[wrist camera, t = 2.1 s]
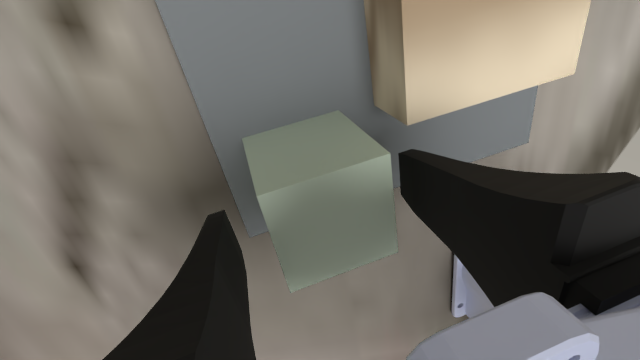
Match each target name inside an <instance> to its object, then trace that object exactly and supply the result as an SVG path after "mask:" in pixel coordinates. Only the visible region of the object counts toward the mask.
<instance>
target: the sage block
mask: <svg viewBox="0 0 640 360" xmlns="http://www.w3.org/2000/svg"><path fill="white" fill-rule="evenodd" d="M242 141H243V145H244V149H245V153H246V157H247V161H248V165H249V169H250V173H251V177H252V181H253V184H254V188H255V192H256V196H257V199H258V202H259V205H260V208H261V211H262V213H263V216H264V219H265V222H266V225H267V228H268V230H269V233H270V236H271V239H272V242H273V245H274V248H275V250H276V253H277V256H278V259H279V262H280V265H281V267H282V270H283V273H284V276H285V279H286V282H287V284H288V287H289V290H290V293H292V292H294V291H297V290H300V289H302V288H305V287H308V286H310V285H313V284H315V283H318V282H321V281H323V280H326V279H329V278H331V277H334V276H337V275H339V274H342V273H345V272H347V271H350V270H353V269H355V268H358V267H361V266H363V265H366V264H369V263H371V262H374V261H377V260H379V259H382V258H384V257H387V256H390V255H392V254H395V253H398V243H397V230H396V218H395V205H394V193H393V180H392V167H391V155H390V153H389V152H388V151H387V150H386V149H385V148H383V147H382V146H381V145H380V144H379V143H377V142H376V141H375V140H374V139H373V138H371V137H370V136H369V135H368V134H367V133H365V132H364V131H363V130H362V129H361V128H359V127H358V126H357V125H356V124H355V123H353V122H352V121H351V120H350V119H349V118H347V117H346V116H345V115H344V114H343V113H341V112H340V111H339V110H337V111H334V112H331V113H327V114H324V115H320V116H317V117H313V118H310V119H306V120H303V121H300V122H296V123H293V124H289V125H286V126H282V127H279V128H275V129H272V130H269V131H265V132H262V133H258V134H255V135H251V136H248V137H245V138H242Z"/></svg>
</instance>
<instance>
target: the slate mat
mask: <svg viewBox="0 0 640 360" xmlns="http://www.w3.org/2000/svg"><path fill="white" fill-rule="evenodd" d="M155 2H156V4H157V7H158V9H159V12H160V14H161V17H162V19H163V22H164V24H165V27H166V29H167V32H168V34H169V37H170V39H171V42H172V44H173V47H174V49H175V52H176V54H177V57H178V59H179V62H180V64H181V67H182V69H183V72H184V74H185V77H186V79H187V82H188V85H189V87H190V90H191V92H192V95H193V97H194V100H195V102H196V105H197V107H198V110H199V112H200V115H201V117H202V120H203V122H204V125H205V127H206V130H207V132H208V135H209V137H210V140H211V142H212V145H213V147H214V150H215V152H216V155H217V157H218V160H219V162H220V165H221V167H222V170H223V172H224V175H225V177H226V180H227V182H228V185H229V187H230V190H231V192H232V195H233V197H234V200H235V203H236V205H237V208H238V210H239V213H240V215H241V218H242V220H243V223H244V225H245V228H246V230H247V233H248V235H249V238H250V237H253V236H256V235H259V234H262V233H265V232H268V231H269V230H268V228H267V225H266V222H265V219H264V216H263V213H262V211H261V208H260V205H259V202H258V199H257V196H256V192H255V188H254V184H253V181H252V177H251V173H250V169H249V165H248V161H247V157H246V153H245V149H244V145H243V141H242V138H245V137H248V136H251V135H255V134H258V133H262V132H265V131H269V130H272V129H275V128H279V127H282V126H286V125H289V124H293V123H296V122H300V121H303V120H306V119H310V118H313V117H317V116H320V115H324V114H327V113H331V112H334V111H337V110H339V111H340V112H341V113H343V114H344V115H345V116H346V117H347V118H349V119H350V120H351V121H352V122H353V123H355V124H356V125H357V126H358V127H359V128H361V129H362V130H363V131H364V132H365V133H367V134H368V135H369V136H370V137H371V138H373V139H374V140H375V141H376V142H377V143H379V144H380V145H381V146H382V147H383V148H385V149H386V150H387V151H388V152H389V153H390V155H391V167H392V180H393V189H394V188H397V187H400V172H399V156H398V153H401V152H404V151H407V150H410V149H416V150H421V151H425V152H429V153H433V154H436V155H440V156H444V157H448V158H451V159H455V160H459V161H463V162H468V163H470V162H473V161H476V160H479V159H482V158H485V157H487V156H490V155H493V154H496V153H499V152H502V151H505V150H508V149H511V148H514V147H517V146H520V145H523V144H526V143H528V142H529V136H530V130H531V124H532V118H533V112H534V106H535V100H536V94H537V89H538V85H537V86H534V87H531V88H527V89H524V90H521V91H518V92H514V93H511V94H508V95H505V96H501V97H498V98H495V99H492V100H489V101H485V102H482V103H479V104H476V105H472V106H469V107H466V108H463V109H460V110H456V111H453V112H450V113H447V114H443V115H440V116H437V117H434V118H431V119H427V120H424V121H421V122H418V123H414V124H411V125H408V126H407V125H405V124H404V123H402V122H400V121H399V120H397V119H396V118H394V117H392V116H391V115H389V114H388V113H386V112H384V111H383V110H381V109H380V108H378V107H376V106H375V105H374V98H373V88H372V78H371V68H370V58H369V49H368V39H367V29H366V19H365V9H364V0H155Z"/></svg>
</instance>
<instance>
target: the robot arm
mask: <svg viewBox="0 0 640 360" xmlns="http://www.w3.org/2000/svg"><path fill="white" fill-rule="evenodd" d="M398 156H399V172H400V188H401V195H402V196H403V198H404V199H405V201H406V202H407V204H408V205H409V206H410V208H411V209H412V210H413V212H414V213H415V214H416V215H417V216H418V217H419V218H420V219H421V220H422V221H423V222H424V223H425V224H426V225H427V226H428V227H429V228H430V229H431V230H432V231H433V232H434V233H435V234H436V235H437V236H438V237H439V238H440V239H441V240H442V241H443V242H444V243H445V244H446V245H447V246H448V248H449V249H450V250H451V251H452V252H453V253H454V271H453V293H452V314H453V316H454V317H456V318H458V317H461V316H463V315H467V316H468V317H469V319H466V320H464V321H462V322H459V323H457V324H455V325H453V326H450V327H448V328H446V329H443V330H441V331H439V332H437V333H435V334H434V335H432V336H430V337H429V338H427V339H425V340H424V341H422V342H420V343H419V344H418V345H417V346H416V348H415V349H414V350H413V351H412V352H411V353H410V354H409V355H408V356H407V358H406V360H640V177H638V176H636V175H633V174H630V173H627V172H617V173H596V174H549V173H534V172H522V171H513V170H505V169H498V168H492V167H486V166H482V165H477V164H472V163H468V162H463V161H459V160H455V159H451V158H448V157H444V156H440V155H436V154H433V153H429V152H425V151H421V150H416V149H410V150H407V151H404V152H401V153H398ZM103 360H256V357H255V351H254V346H253V340H252V334H251V326H250V314H249V301H248V288H247V276H246V269H245V264H244V259H243V255H242V250H241V248H240V245H239V243H238V241H237V238H236V236H235V233H234V231H233V229H232V226H231V224H230V222H229V219H228V217H227V215H226V212H225V210H223V211H220V212H217V213H214V214H210V215H208V217H207V218H206V220H205V223H204V225H203V227H202V229H201V231H200V233H199V236H198V238H197V240H196V242H195V244H194V246H193V248H192V250H191V252H190V254H189V255H188V257H187V259H186V261H185V262H184V264H183V266H182V267H181V269H180V271H179V273H178V274H177V276H176V277H175V279H174V280H173V282H172V283H171V285H170V286H169V287H168V289H167V290H166V291H165V293H164V294H163V296H162V297H161V298H160V299H159V301H158V302H157V303H156V304H155V305H154V307H153V308H152V309H151V310H150V311H149V312H148V314H147V315H146V316H145V317H144V318H143V320H142V321H141V322H140V323H139V324H138V325H137V326H136V327H135V328H134V329H133V330H132V331H131V332H130V334H129V335H128V336H127V337H126V338H125V339H124V340H123V341H122V342H121V343H120V344H119V345H118V346H117V347H116V348H114V349H113V350H112V351H111V352H110V353H109V354H108V355H107V356H106V357H105V358H104V359H103Z"/></svg>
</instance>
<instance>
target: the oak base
mask: <svg viewBox="0 0 640 360" xmlns="http://www.w3.org/2000/svg"><path fill="white" fill-rule="evenodd" d="M590 3H591V0H364V9H365V19H366V29H367V39H368V49H369V58H370V68H371V78H372V88H373V98H374V105H375V106H376V107H378V108H380V109H381V110H383V111H384V112H386V113H388V114H389V115H391V116H392V117H394V118H396V119H397V120H399V121H400V122H402V123H404V124H405V125H407V126H408V125H411V124H414V123H418V122H421V121H424V120H427V119H431V118H434V117H437V116H440V115H443V114H447V113H450V112H453V111H456V110H460V109H463V108H466V107H469V106H472V105H476V104H479V103H482V102H485V101H489V100H492V99H495V98H498V97H501V96H505V95H508V94H511V93H514V92H518V91H521V90H524V89H527V88H531V87H534V86H537V85H540V84H543V83H547V82H550V81H553V80H556V79H560V78H563V77H566V76H569V75H572V74H575V70H576V65H577V61H578V56H579V52H580V47H581V43H582V38H583V34H584V29H585V25H586V20H587V16H588V12H589V7H590Z"/></svg>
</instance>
